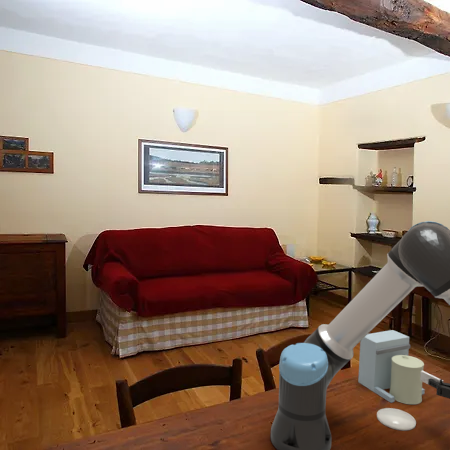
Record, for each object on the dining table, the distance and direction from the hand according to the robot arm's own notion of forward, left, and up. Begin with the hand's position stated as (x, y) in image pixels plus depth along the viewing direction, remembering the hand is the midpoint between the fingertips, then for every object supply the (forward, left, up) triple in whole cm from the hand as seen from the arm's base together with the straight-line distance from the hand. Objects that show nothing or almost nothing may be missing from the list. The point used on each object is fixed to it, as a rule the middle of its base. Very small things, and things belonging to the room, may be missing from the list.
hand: (438, 371), depth 117 cm
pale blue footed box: (-3, +16, -13) cm, 21 cm away
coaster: (-13, 0, -13) cm, 18 cm away
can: (-2, +10, -13) cm, 17 cm away
